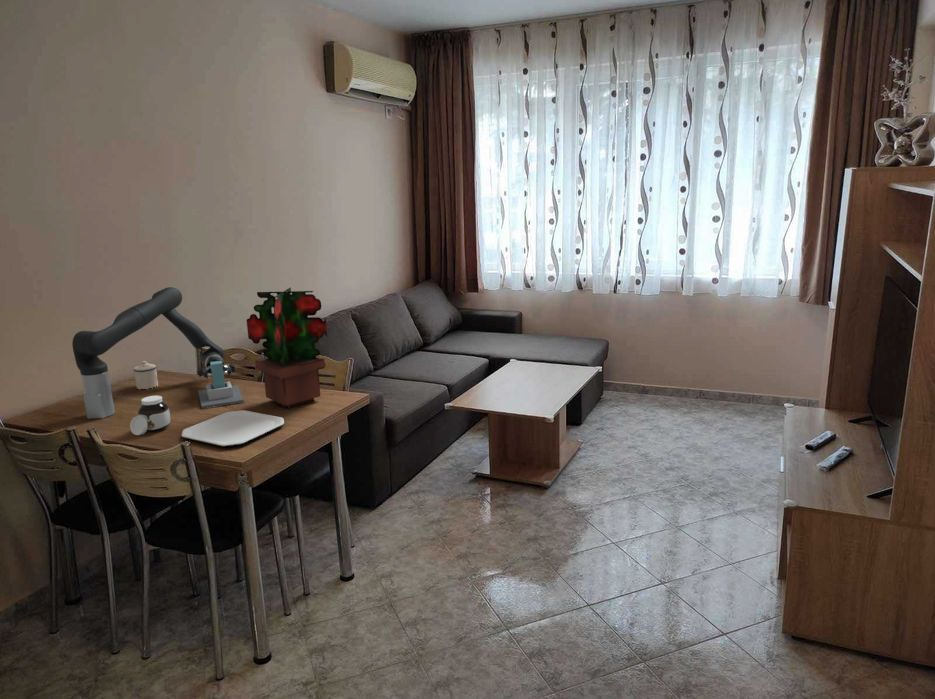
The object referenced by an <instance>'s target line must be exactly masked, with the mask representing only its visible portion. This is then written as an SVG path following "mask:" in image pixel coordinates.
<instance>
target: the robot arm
mask: <svg viewBox="0 0 935 699" xmlns="http://www.w3.org/2000/svg"><path fill="white" fill-rule="evenodd" d="M182 301H183V294H182V292H181V291H180V290H179V289H178V288H176V287H173V286H172V287H169V286H168V287H165V288H163V289H160V290H158V291H156V292H155V293H153V295H151V298H150V299H148V300H144V301H142V302H140V303H137V304H135V305H132V306H130V307H128V308H126V309H125V310H122V311H121V312H120V313H119V314H117V315H116V317H115V318H114V320H113V323H111V325H109V326H107V327H106V328H103V329H100V330H98V331H93V330H91V331H90V330H89V331H88V330H81V331H77V332H76V333H75V334H74V336H73V337H72V343H71V344H72V345H71V346H72V350H73V351H72V352H73V355H74V360H75V363H76V367H77V369H78V370H79V372H80V378H81V384H82V390H83V402H84V406H85V413H86V418H87V419H104V418H106V417H107V418H108V417H111V416H112V415H114V414H115V413H116V412H115V411H116V410H115V405H114V400H113V398H114V397H113V393H112V387H111V382H110V376H109V375H110V374H109V368H108V364H107V363H106V362H105V361H103V360H102V359H101V358H100V357H99V356H101V355H103V354H105V353H106V352H108V351H109V350H111V349H112V348H114V346H115V345H117V344H118V343H119V342H120V341H123V340H124V339H126V338H127V337H129V336H131V335H132V334H134V333H136V332H137V331H138V332H139V330H141V329H143V328H144V327H145V326H147V325H149V324H150V323H151V322H153V321H154V320H155V319H156V318H158V317H159V316H161V315H162V317H164V318H165V319H167V321H168V322H170V323H171V324H172V325H173V326H174V327H175V328H176V329H178V331H180V332H181V333H182V335H184V336H185V338H186V339H187V340H188V341H189V342H190V344H191V345H192V346H193V348H195V349H196V350H199V349H203V348H205V347H208V348H207V349H206V350H205V351H202V353H201V354H200V355H199V361H200V363H201V364H202V365H203V366H205V367H204V368H203V367H201V366H199V367H198V368H197V370H198V371H197V372H198V377H200V378H201V377H203V378H206V379H208V378H209V376H212V373H211V365H210V362H215V361H222V364H223V372H224V375H225V374H227V375H228V376H231V374H232V373H235V372H236V366H235V365H234V363H233V362H232V363H231V362H230V363H229V364H228V365H226V364H225V362H224V357H225V351H224V349H223V348H221V346H219V345H217V344H216V343H214V342H213V341H212V340H211V339H210V338H209V337H208V336H207V335H206V334H205V332H204V331H203V330H202V329H201V327H199V326H198V325H197V324H196V323H195V322H193V321H191V320H190V319H188V318H186V317H184V316H183V315H182V314H180V313H179V311H178V310H177V309H176V308H178V307H179V306H180V305H181V303H182Z"/></svg>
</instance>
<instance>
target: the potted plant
mask: <svg viewBox="0 0 935 699" xmlns="http://www.w3.org/2000/svg"><path fill="white" fill-rule="evenodd" d="M291 288H292V287H288V288H287V289H284V291H257V292H256V295H257V297H258V298H260V299H265V300H264V301H263V303H261V304H255V305H254V306H253V310H254V312H257V313H258V315H259V317H258V315H257V314H256V313H252V314H250V315H249V317H248V318H247V319H246V328H247V337H248V339H249V340H251V341H252V343H253V344H255V345H258V344H259V343H260V342H261V340H265V341H262V344H261V345H262V346H263V348H265V349H266V350H264V351H263V355H264V357H263V358H259V359H255V361H254V362H255V370H257V371H259V372H261V373H263V379H264V381H263V382H264V390H265V398H267V399H269V400H272V401H274V402H273V403H275V402H276V404H278V403H279V404H278V405H280V404H281V405H280V406H282V405H283V407H284V406H285V407H284V408H287V407H291V408H293V407H292V406H294V407H297V406H296V405H298V406H300V404H301V405H304V404H303V403H305V404H308V403H312V402H315V399H316V398H319V397H321V388H320V387H321V386H320V374H319V370H323V369H326V364H325V358H324V357H320V354H321V352H320V350H319V349H317V348H316V347H315V345H316V344H315V343H318V342H319V340H320V339H321V338H324V335H325V337H328V333H327V332H328V331H327V319H326V317H325V318H324V320H323V319H322V318H321V317H320V316H319V317H318V316H316V315H317V313H318V311H321V309H322V302H321V300H320V299H319V298H317V297H316V295H314V294H311V293H314V290H301V291H300V290H297V291H296V290H293V291H292V289H291ZM306 293H308V294H306ZM309 293H310V294H309ZM272 294H273V295H272ZM274 294H276V296H274ZM309 316H312V317H309ZM307 402H308V403H307Z"/></svg>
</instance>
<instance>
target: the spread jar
mask: <svg viewBox="0 0 935 699" xmlns="http://www.w3.org/2000/svg"><path fill="white" fill-rule="evenodd" d="M170 423H171V412H170V408H169V406H168V404H167V403H165V402H164V401H163V396H161V395H150V396H146V397H143V398H141V405H140V407H139V409H138V411H137V415H136V416H133V418H132V419H131V421H130V424H129V425H130V427H129V428H130V431H131V433H132V434H133V435H135V436H142V435H144V434H145V433H146V432H148V433H157V432H161V431H164V430H165V429H167V427H168V426H169V425H170Z"/></svg>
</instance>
